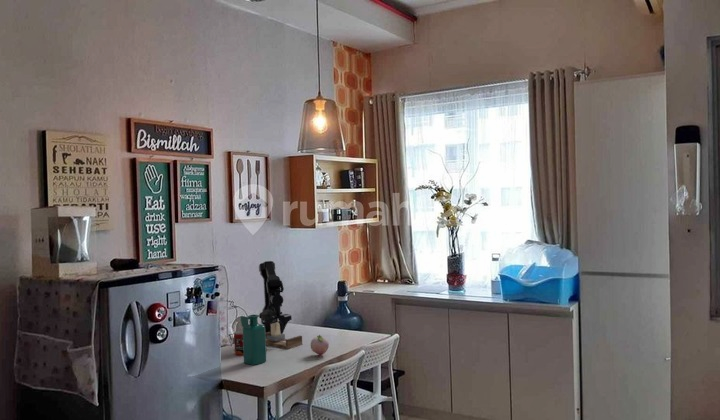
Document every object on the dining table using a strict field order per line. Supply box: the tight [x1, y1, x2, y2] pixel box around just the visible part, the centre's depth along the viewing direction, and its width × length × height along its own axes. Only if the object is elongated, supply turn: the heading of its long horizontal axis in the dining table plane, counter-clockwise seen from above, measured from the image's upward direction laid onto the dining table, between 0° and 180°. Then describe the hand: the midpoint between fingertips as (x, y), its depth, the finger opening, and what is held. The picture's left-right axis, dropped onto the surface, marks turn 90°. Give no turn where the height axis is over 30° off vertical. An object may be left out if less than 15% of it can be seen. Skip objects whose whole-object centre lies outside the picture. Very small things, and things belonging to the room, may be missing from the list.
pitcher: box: [240, 314, 267, 366], centre depth 273 cm, size 10×8×22 cm
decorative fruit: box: [310, 334, 330, 357], centre depth 282 cm, size 9×8×10 cm
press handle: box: [267, 322, 286, 342], centre depth 309 cm, size 6×7×8 cm
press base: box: [265, 332, 303, 350], centre depth 307 cm, size 22×10×4 cm, turn 52°
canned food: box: [233, 329, 244, 357], centre depth 290 cm, size 8×8×11 cm
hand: (275, 332), depth 309 cm, fingers open, 8 cm apart
